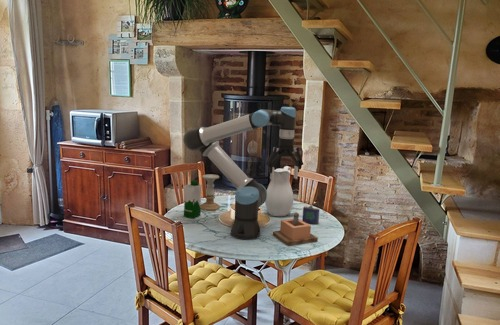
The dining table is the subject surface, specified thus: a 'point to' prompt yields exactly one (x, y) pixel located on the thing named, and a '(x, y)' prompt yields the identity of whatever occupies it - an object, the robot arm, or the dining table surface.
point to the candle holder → (210, 194)
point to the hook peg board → (291, 242)
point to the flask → (310, 215)
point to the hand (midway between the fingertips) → (283, 179)
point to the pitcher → (279, 193)
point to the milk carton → (192, 200)
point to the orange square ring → (295, 229)
